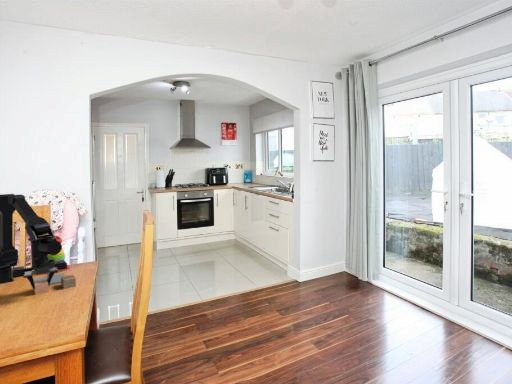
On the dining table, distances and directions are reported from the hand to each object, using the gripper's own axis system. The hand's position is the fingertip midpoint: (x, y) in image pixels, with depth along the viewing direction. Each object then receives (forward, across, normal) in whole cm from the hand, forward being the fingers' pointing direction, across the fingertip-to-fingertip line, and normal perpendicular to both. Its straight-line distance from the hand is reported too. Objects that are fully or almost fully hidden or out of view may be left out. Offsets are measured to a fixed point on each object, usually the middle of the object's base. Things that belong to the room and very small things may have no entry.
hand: (40, 288), depth 132 cm
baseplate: (+1, +5, +12) cm, 13 cm away
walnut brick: (+1, +10, 0) cm, 10 cm away
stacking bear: (+2, +9, +28) cm, 29 cm away
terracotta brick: (+1, 0, 0) cm, 1 cm away
